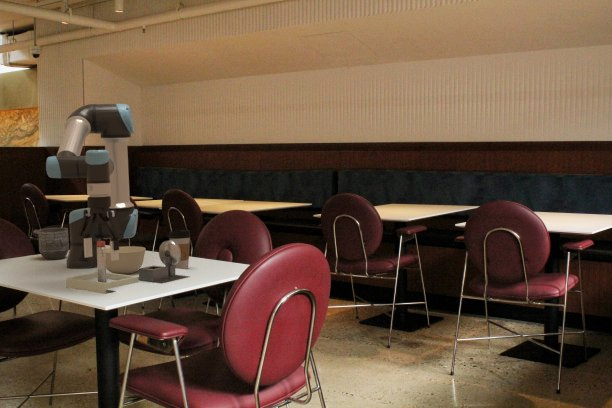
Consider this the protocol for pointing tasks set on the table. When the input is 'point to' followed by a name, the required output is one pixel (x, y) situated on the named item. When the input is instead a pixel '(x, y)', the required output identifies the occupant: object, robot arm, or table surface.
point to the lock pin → (101, 261)
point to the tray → (99, 287)
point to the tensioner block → (169, 258)
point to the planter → (53, 243)
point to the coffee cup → (182, 246)
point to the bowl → (125, 260)
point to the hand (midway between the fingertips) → (101, 258)
